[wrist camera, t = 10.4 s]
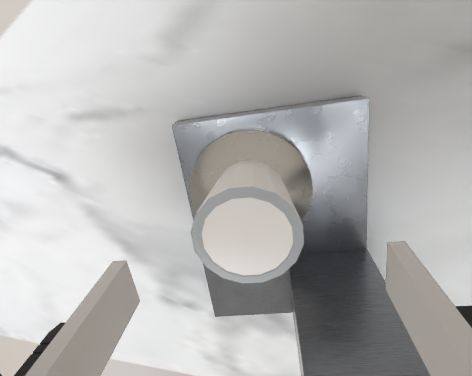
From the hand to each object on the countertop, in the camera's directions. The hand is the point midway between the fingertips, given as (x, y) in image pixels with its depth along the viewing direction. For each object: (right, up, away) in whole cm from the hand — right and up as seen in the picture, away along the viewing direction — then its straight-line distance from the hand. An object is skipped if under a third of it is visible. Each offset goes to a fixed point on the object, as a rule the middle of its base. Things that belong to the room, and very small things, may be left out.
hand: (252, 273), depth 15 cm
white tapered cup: (0, +4, +9) cm, 10 cm away
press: (+3, +2, +13) cm, 14 cm away
